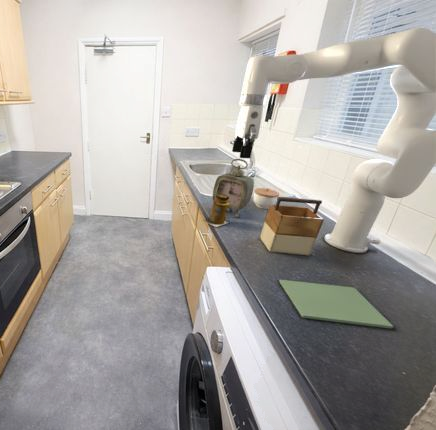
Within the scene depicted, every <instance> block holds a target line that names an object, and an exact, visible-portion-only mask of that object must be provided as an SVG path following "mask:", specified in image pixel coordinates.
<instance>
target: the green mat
mask: <svg viewBox="0 0 436 430" xmlns="http://www.w3.org/2000/svg"><path fill="white" fill-rule="evenodd" d="M278 283H279V284H280V285H281V287H282V289H283V290H284V291H285V293H286V294H287V296H288V298H289V299H290V301H291V302H292V304H293V305H294V308H295V309H296V310H297V312H298V314H299V315H300V316H301V318H303V319H310V320H316V321H317V320H319V321H327V322H334V323H343V324H349V325H350V324H351V325H358V326H367V327H374V328H383V329H393V328H394V325H393V324H392V323H391V322H390V321H389V320H388V319H387V318H386V317H384V315H383V314H382V313H380V311H378V309H377V308H376V307H375V306H374V305H373V304H371V302H369V300H367V298H366V297H365V296H364V295H363V294H361V292H360V291H358V289H356V288H355V287H353V286H344V285H343V286H342V285H335V284H326V283H325V284H324V283H315V282H307V281H298V280H288V279H279V282H278Z"/></svg>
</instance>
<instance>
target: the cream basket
mask: <svg viewBox="0 0 436 430" xmlns="http://www.w3.org/2000/svg"><path fill="white" fill-rule="evenodd" d="M259 239H260V240H261V241H262V243H263V245H264V246H265V247H266V249H267V250H268V251H269V252H270V253H278V254H279V253H280V254H290V255H299V256H310V255H311V253H312V250H313V248H314V245H315V243H316V240H317V238H311V237H300V236H289V235H278V234H275V233H274V232H273V231H272V230H271V228H270V227H269V226H268V225H267V224H266V222H265V221H264V222H263V226H262V229H261V233H260V235H259Z"/></svg>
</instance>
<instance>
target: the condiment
mask: <svg viewBox="0 0 436 430" xmlns="http://www.w3.org/2000/svg"><path fill="white" fill-rule="evenodd" d="M228 201H229V196H228V195H225V194H216V197H215V200H214V202H212V207H211V212H210V217H208V218H205V219H202V221H203V222H205V223H207V224H208V225H210V226H213V227H215V228H218V227H221V226H223V225H226V224H229V221H226V217H227V213H228V210H229V209H228V205H229V203H228Z"/></svg>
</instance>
